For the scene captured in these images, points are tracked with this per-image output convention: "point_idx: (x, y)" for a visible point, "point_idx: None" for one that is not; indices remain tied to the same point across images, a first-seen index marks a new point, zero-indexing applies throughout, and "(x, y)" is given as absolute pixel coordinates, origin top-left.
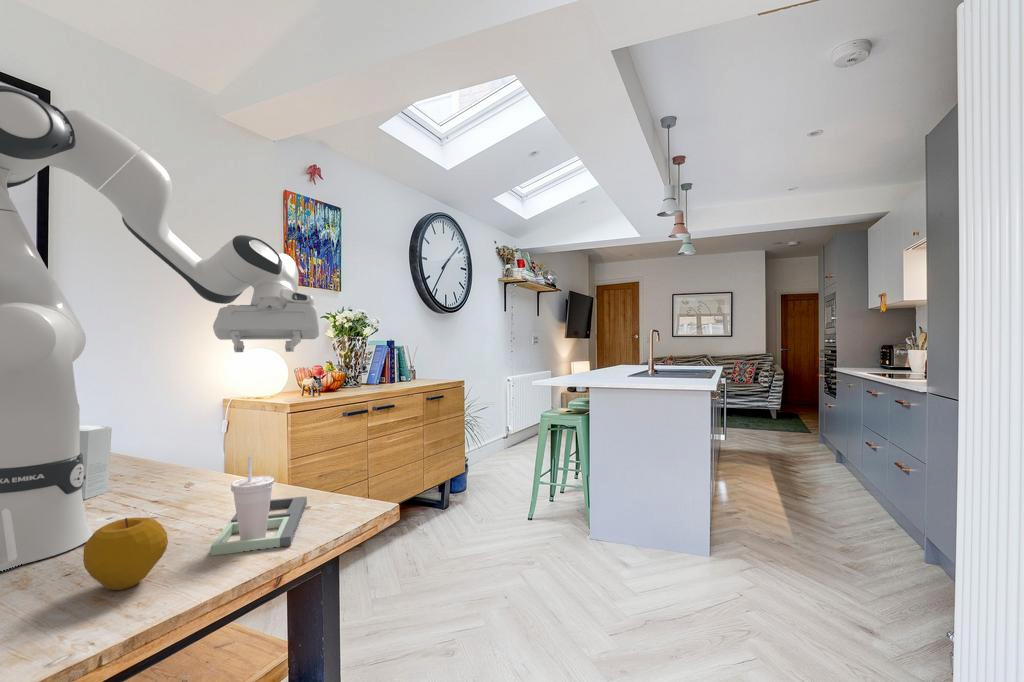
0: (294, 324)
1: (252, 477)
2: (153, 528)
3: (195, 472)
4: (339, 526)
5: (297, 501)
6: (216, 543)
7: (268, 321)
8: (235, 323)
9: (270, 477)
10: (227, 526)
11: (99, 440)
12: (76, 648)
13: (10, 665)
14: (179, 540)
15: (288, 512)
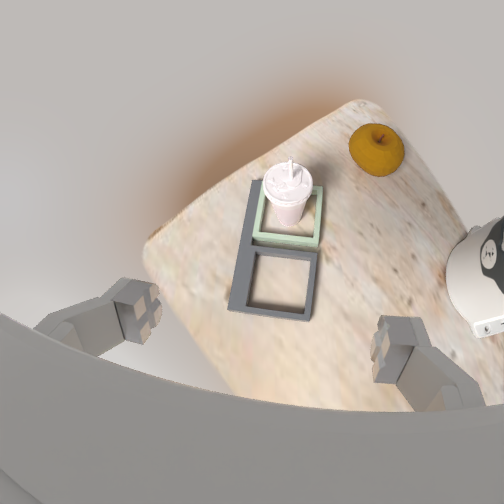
0: (14, 350)
1: (290, 200)
2: (358, 132)
3: None
4: (204, 214)
5: (240, 291)
6: (319, 190)
7: (182, 472)
8: (502, 446)
9: (267, 189)
10: (317, 232)
11: None
12: (360, 109)
13: (382, 109)
14: (363, 243)
15: (252, 251)
